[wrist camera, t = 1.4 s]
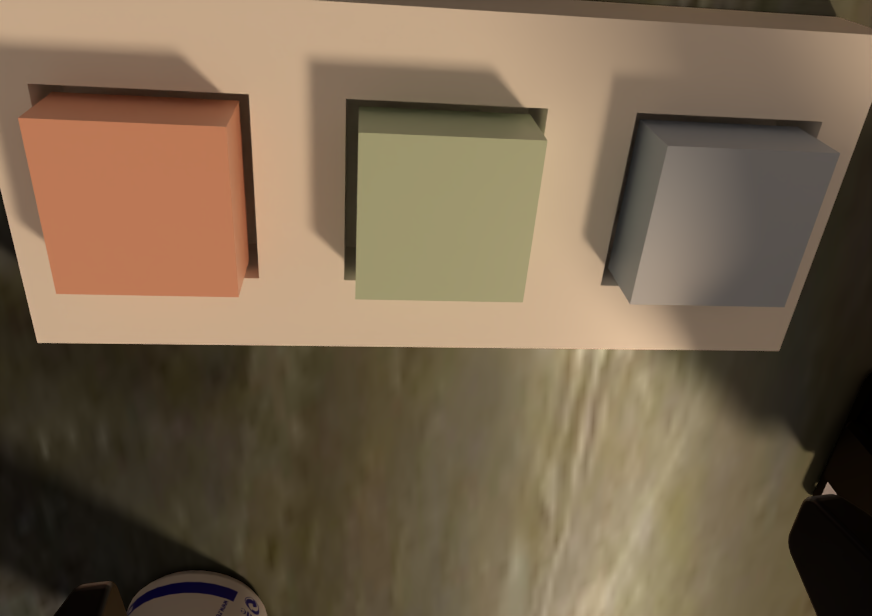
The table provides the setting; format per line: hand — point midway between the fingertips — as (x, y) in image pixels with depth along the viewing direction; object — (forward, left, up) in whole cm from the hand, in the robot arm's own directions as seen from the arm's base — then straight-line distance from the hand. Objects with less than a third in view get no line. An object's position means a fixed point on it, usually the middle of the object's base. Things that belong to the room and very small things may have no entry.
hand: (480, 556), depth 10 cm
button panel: (0, 0, -13) cm, 13 cm away
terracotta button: (+7, 0, -11) cm, 13 cm away
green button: (0, 0, -11) cm, 11 cm away
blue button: (-7, 0, -11) cm, 14 cm away
